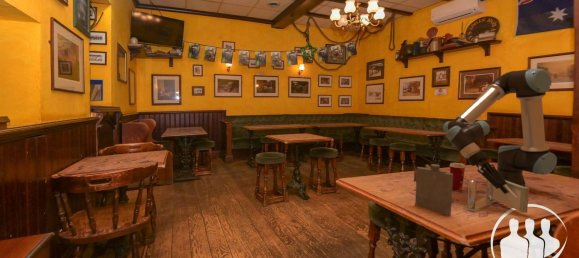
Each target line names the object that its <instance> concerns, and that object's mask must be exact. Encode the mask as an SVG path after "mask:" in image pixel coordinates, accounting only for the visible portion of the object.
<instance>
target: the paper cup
mask: <svg viewBox="0 0 579 258" xmlns="http://www.w3.org/2000/svg"><path fill="white" fill-rule="evenodd" d="M465 171H466V165H465V163H459V162H450V164H449V173H452V174H453V185H452V191H457V192H458V191H459V192H461V191H463V185H464V179H465Z"/></svg>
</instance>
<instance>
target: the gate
mask: <svg viewBox="0 0 579 258" xmlns="http://www.w3.org/2000/svg"><path fill="white" fill-rule="evenodd" d="M505 181H506V180H505ZM506 182H507V184H506V185H507V186H508V187H509V189H510V190H511V191H512V192H513V193H514V194H515V195H516V196H517V197H518V198H516V199H514V200H512V201H510V200H509V199H508V198H507V197H506V196H505V194H504V193H503V192H502V191H501V190H500V189H499V188H498V189H496V187H494V186H493V198H492V199H494V200H496V201H497V202H498V203H501V204H504V205H506V206H508V207H509V208H512V209H514V210H516V211H518V212H520V213H526V214H527V213H528V206H529V195H530V188H529V187H527V186H525V187H523V186H520V185H518V184H515V183H512V182H509V181H506Z"/></svg>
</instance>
